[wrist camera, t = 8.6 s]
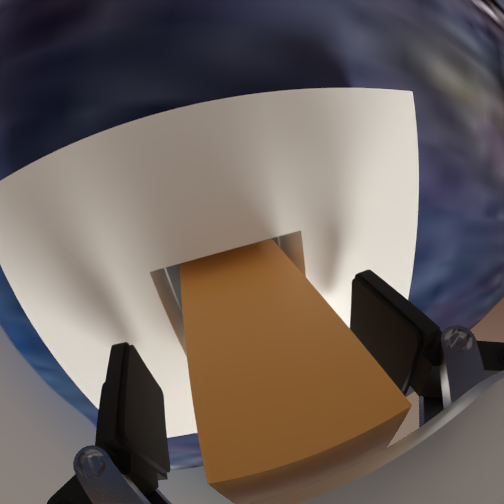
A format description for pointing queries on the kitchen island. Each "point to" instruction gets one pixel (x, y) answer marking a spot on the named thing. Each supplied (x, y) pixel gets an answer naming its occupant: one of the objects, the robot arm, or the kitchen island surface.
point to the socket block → (206, 218)
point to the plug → (277, 377)
